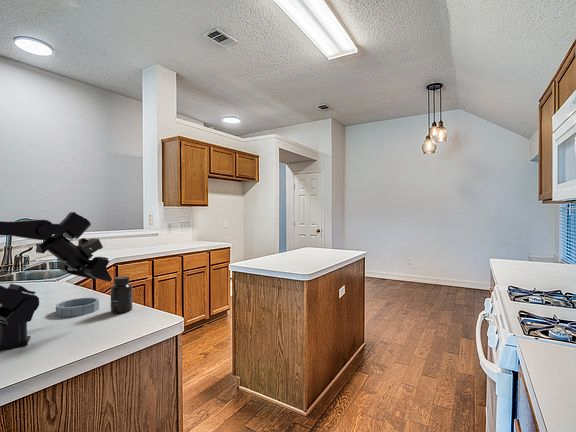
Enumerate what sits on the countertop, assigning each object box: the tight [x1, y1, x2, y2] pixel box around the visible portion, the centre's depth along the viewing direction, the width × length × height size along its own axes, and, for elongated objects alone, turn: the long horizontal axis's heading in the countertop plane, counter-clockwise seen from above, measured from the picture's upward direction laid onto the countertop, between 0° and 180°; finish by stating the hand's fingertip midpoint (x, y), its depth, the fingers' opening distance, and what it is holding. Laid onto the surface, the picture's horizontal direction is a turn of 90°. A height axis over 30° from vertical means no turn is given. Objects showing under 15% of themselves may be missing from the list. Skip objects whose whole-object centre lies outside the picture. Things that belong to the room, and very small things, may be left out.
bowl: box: [55, 297, 100, 318], centre depth 111 cm, size 13×13×3 cm
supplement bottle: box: [110, 275, 133, 315], centre depth 110 cm, size 7×7×12 cm
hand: (102, 279), depth 104 cm, fingers open, 9 cm apart
